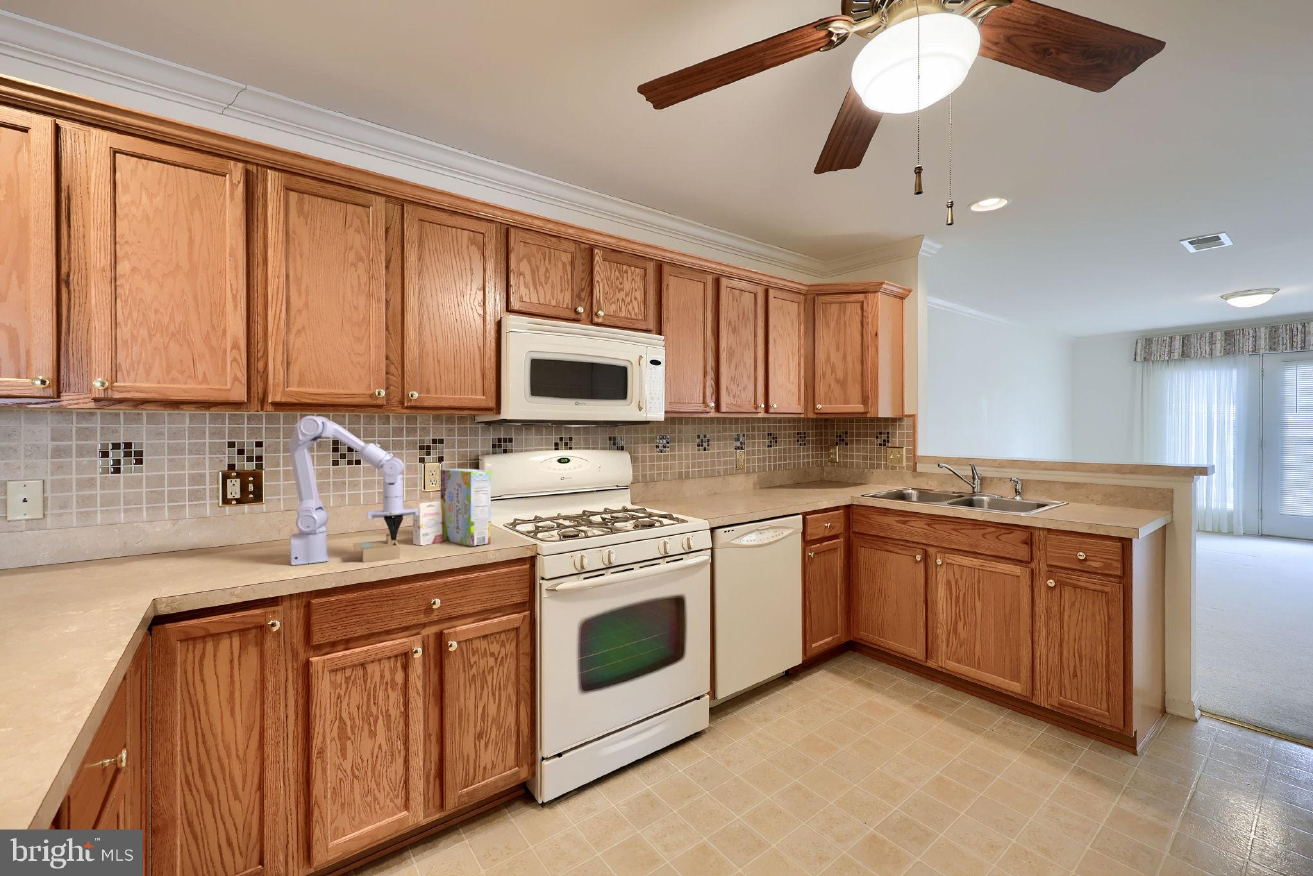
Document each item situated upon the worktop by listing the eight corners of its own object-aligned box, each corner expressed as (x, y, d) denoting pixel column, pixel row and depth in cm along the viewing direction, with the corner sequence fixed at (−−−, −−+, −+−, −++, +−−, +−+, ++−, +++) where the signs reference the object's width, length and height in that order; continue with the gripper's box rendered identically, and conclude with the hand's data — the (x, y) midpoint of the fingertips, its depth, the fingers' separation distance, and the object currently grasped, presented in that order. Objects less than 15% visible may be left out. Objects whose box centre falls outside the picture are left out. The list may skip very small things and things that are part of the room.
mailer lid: (354, 550, 167) (354, 540, 167) (353, 545, 174) (353, 536, 174) (391, 546, 172) (391, 537, 172) (388, 541, 179) (388, 533, 179)
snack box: (493, 544, 195) (492, 470, 194) (470, 548, 188) (469, 471, 188) (461, 536, 209) (460, 467, 209) (438, 539, 203) (438, 468, 202)
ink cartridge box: (435, 540, 201) (434, 499, 201) (442, 542, 198) (442, 500, 198) (412, 544, 194) (411, 502, 194) (420, 546, 191) (419, 503, 191)
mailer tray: (363, 562, 168) (362, 549, 168) (361, 557, 175) (361, 544, 175) (399, 558, 173) (399, 545, 173) (396, 553, 180) (396, 541, 180)
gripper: (367, 499, 169) (368, 544, 169) (419, 496, 176) (420, 539, 176) (366, 497, 175) (367, 540, 175) (416, 494, 182) (417, 535, 182)
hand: (393, 539), depth 176 cm, fingers closed
